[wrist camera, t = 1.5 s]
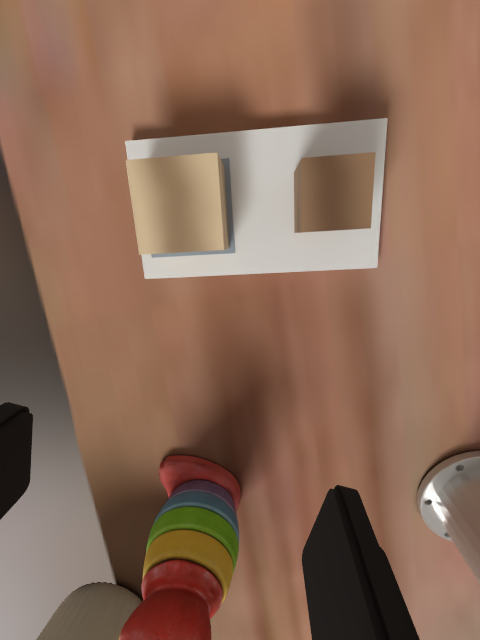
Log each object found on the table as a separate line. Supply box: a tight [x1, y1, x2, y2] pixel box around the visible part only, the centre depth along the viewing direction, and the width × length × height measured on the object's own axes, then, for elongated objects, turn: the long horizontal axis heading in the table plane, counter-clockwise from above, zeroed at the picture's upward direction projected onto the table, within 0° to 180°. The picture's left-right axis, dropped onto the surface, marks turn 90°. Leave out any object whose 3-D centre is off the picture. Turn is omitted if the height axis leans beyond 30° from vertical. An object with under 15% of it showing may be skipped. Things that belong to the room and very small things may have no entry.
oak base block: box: [126, 152, 229, 255], centre depth 25 cm, size 7×7×4 cm
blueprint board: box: [125, 118, 388, 279], centre depth 27 cm, size 22×12×1 cm, turn 93°
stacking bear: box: [119, 455, 241, 640], centre depth 29 cm, size 11×10×18 cm
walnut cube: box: [294, 152, 376, 233], centre depth 23 cm, size 5×5×5 cm
